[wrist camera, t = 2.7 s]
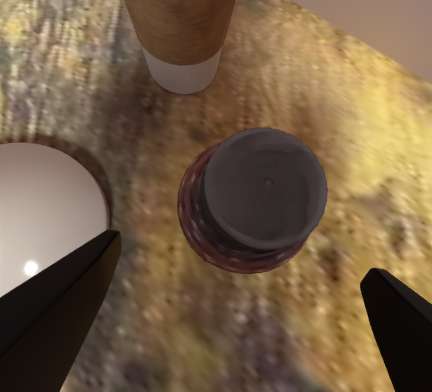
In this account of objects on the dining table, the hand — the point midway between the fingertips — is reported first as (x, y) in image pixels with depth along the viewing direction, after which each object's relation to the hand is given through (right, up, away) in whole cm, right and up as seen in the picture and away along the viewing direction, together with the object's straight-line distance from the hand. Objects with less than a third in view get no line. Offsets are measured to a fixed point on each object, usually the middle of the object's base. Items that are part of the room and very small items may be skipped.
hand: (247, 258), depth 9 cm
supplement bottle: (-1, 0, +10) cm, 10 cm away
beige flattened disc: (-15, 0, +8) cm, 17 cm away
